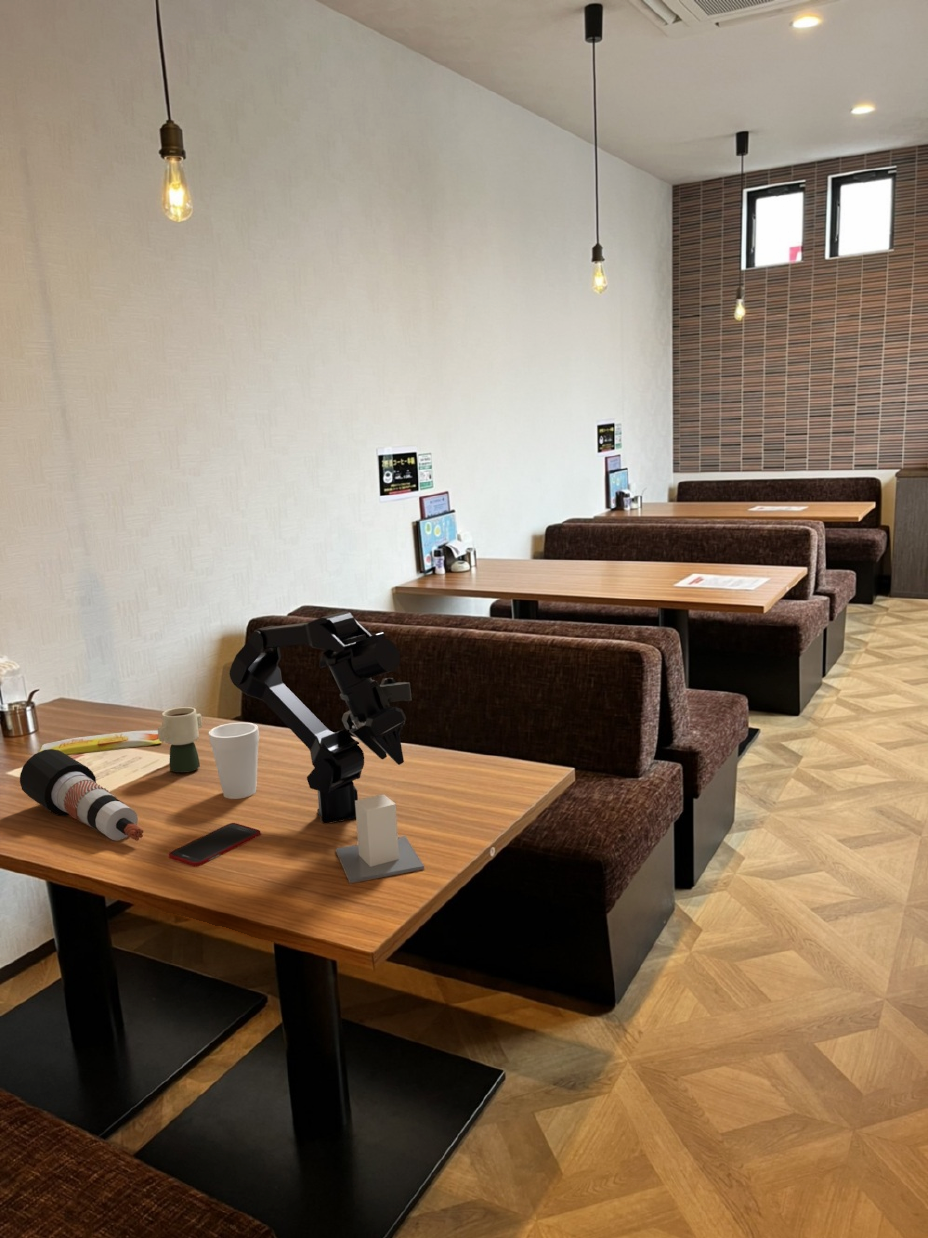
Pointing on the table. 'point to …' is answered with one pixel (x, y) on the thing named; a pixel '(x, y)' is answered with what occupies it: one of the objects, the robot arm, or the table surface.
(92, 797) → the cable
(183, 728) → the character mug
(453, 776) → the table surface
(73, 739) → the food package
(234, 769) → the foam cup
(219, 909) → the table surface
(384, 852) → the cream block
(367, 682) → the robot arm
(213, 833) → the cell phone
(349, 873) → the slate coaster
